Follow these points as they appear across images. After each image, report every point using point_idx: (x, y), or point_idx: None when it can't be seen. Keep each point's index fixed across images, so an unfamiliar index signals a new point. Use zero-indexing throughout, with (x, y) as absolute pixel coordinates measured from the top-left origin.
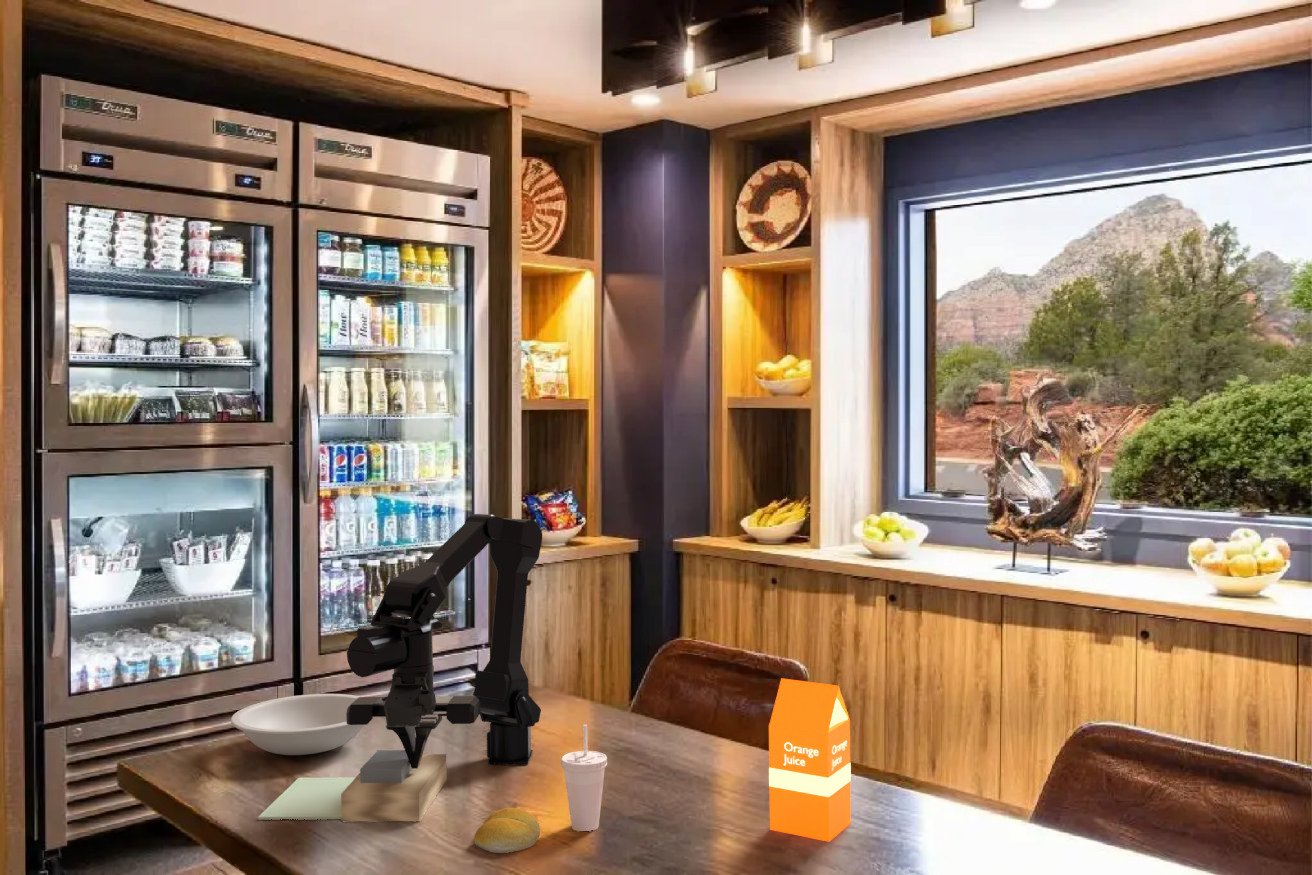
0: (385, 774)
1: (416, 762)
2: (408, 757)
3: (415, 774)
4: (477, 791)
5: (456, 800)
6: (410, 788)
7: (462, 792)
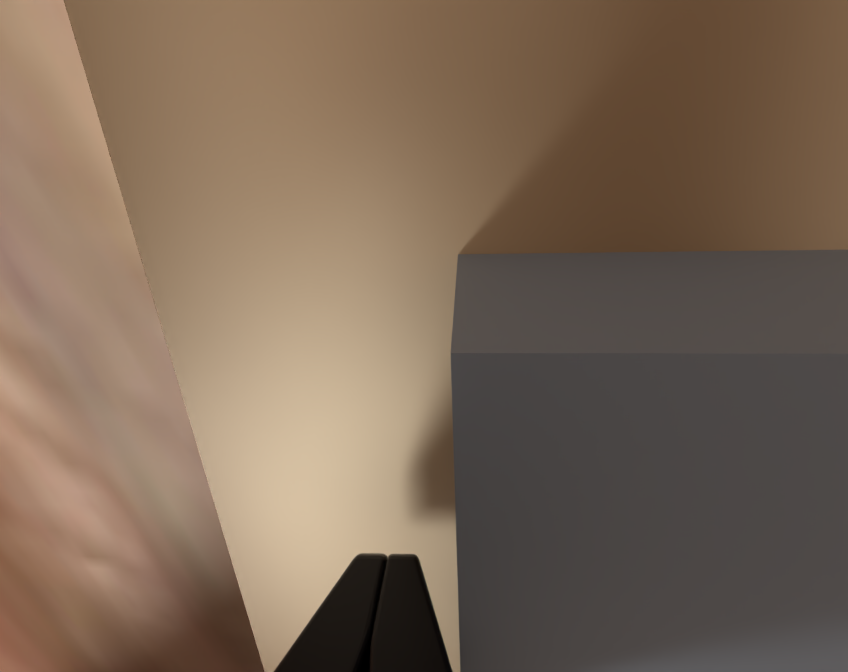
0: (709, 308)
1: (346, 604)
2: (437, 663)
3: (385, 498)
4: (71, 499)
5: (120, 361)
6: (247, 15)
7: (156, 487)
